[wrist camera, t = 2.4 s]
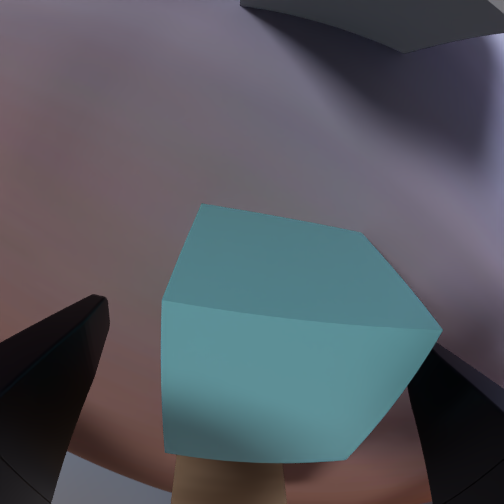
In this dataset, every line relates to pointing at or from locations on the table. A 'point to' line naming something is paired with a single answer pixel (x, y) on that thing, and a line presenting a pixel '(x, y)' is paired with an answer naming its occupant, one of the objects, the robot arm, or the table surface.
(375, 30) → the gray cube
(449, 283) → the table surface
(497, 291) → the table surface
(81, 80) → the table surface
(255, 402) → the teal cube
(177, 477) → the walnut cube
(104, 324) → the robot arm
